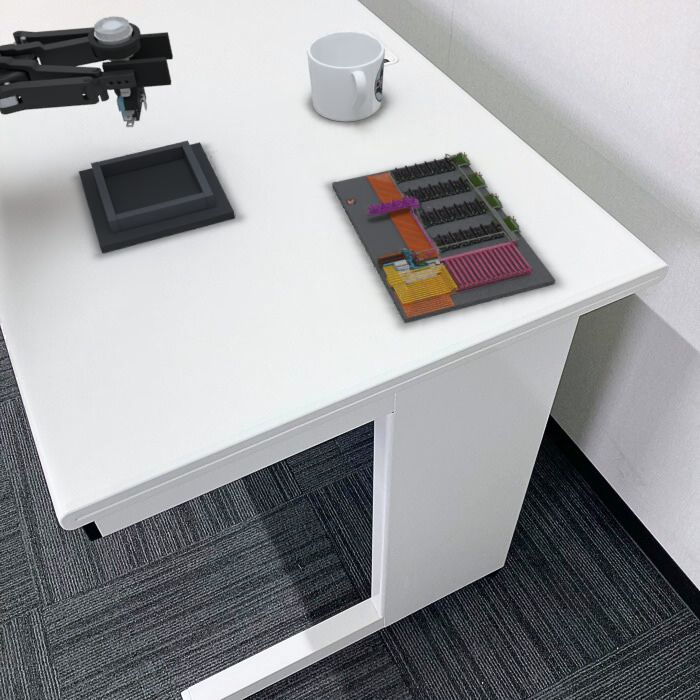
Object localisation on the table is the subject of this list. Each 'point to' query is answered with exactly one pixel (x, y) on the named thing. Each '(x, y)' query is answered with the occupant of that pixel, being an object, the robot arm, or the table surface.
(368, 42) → the mug
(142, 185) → the docking pad
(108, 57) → the push button
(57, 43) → the robot arm
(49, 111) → the table surface
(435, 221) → the circuit board
